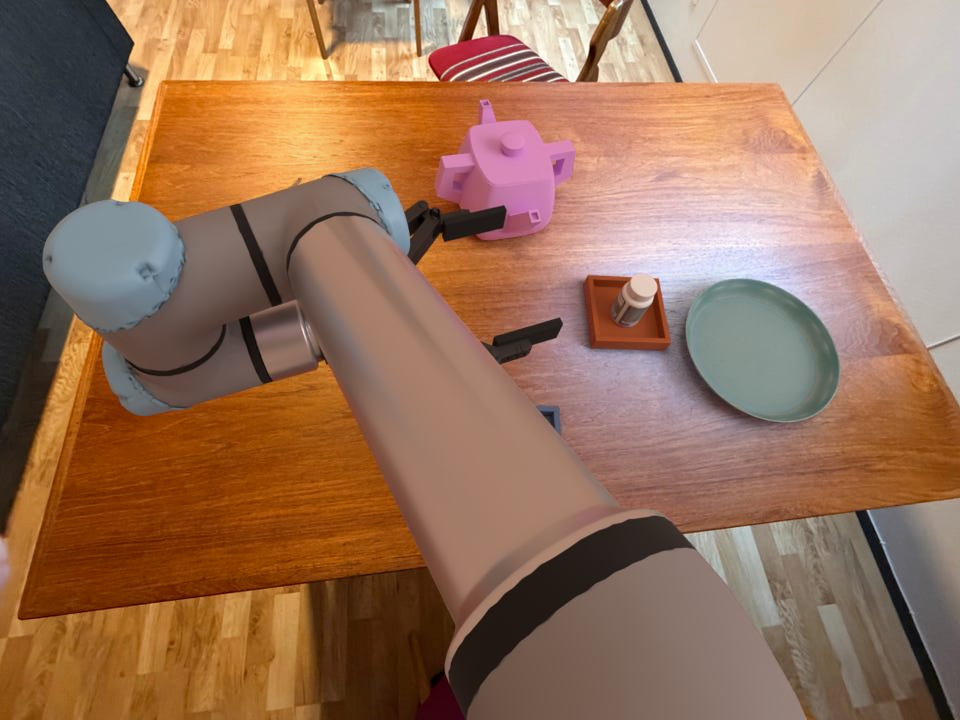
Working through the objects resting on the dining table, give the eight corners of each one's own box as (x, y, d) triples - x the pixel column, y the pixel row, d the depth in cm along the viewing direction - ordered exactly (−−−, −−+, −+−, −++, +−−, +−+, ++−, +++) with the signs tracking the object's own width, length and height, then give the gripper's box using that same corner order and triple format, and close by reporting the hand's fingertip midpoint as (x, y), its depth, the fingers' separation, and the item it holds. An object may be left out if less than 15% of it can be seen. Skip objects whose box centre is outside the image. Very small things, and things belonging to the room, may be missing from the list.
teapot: (474, 152, 98) (484, 77, 84) (567, 194, 96) (593, 123, 82) (423, 226, 89) (424, 155, 76) (524, 273, 88) (544, 209, 74)
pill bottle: (644, 314, 86) (666, 284, 78) (627, 333, 84) (648, 304, 76) (620, 296, 87) (639, 265, 79) (603, 314, 85) (621, 284, 77)
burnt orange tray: (664, 350, 84) (671, 343, 82) (590, 348, 83) (595, 340, 80) (652, 287, 89) (658, 278, 87) (583, 283, 88) (587, 274, 85)
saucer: (718, 445, 78) (730, 438, 75) (652, 303, 88) (660, 292, 85) (856, 409, 83) (872, 401, 80) (779, 278, 93) (791, 267, 90)
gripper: (288, 243, 56) (479, 200, 61) (354, 469, 47) (573, 396, 52) (271, 191, 50) (488, 148, 55) (344, 443, 40) (596, 362, 46)
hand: (530, 269), depth 54 cm, fingers open, 13 cm apart
